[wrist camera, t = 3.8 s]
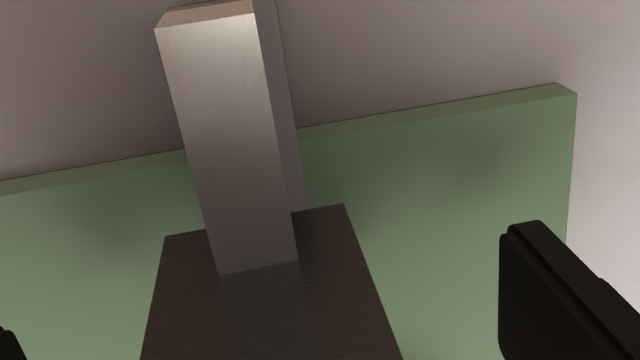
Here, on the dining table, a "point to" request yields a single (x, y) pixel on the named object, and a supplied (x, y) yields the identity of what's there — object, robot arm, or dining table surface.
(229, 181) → the copper sphere contraption
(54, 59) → the dining table surface
